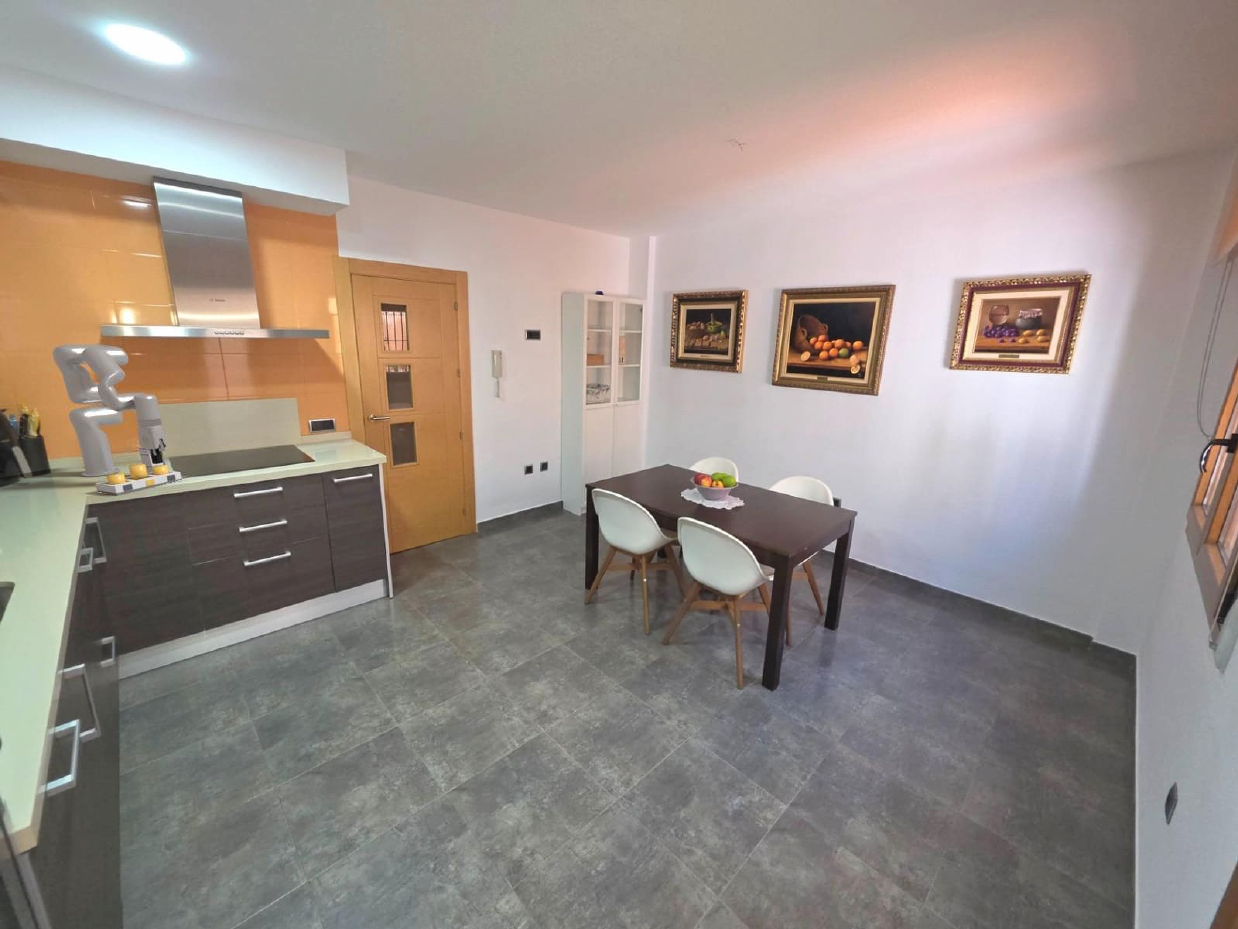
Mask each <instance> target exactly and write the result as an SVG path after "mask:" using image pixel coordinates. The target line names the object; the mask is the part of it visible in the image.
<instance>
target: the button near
mask: <svg viewBox="0 0 1238 929" xmlns="http://www.w3.org/2000/svg"><path fill="white" fill-rule="evenodd" d="M106 479H107V481H108V484H109V485H116V484H121V483H125V482H126V480H125V474H124V473H122V472H121V473H120V472H118V473H114V474H110V475H106Z"/></svg>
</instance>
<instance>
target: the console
mask: <svg viewBox="0 0 1238 929" xmlns="http://www.w3.org/2000/svg"><path fill="white" fill-rule="evenodd" d="M168 472H169V473H168V474H163V475H158V476H157V475H153V472H149V473H147V475H148V478H144V479H140V480H132V479H131V475H130V476H126V477H125V480H126V482H125V483H121V484H116V485H109V484H108V480H107V481H101V482H97V483H95V488H96V491H98V492H102V493H101V494H103V493H106V494H105V495H110V496H111V495H112V496H115V497H116V496H121V495H126V494H130V493H135V492H139V491H143V490H147V489H151V488H156V486H157V487H161V486H164V485H163V484H165V485H167V484H166V483H170V484H172V482H174V483H176V482H175V481H178V480H182V481H183V478H182V474H181V472H180V471H174V470H168ZM178 482H179V481H178ZM160 485H161V486H160ZM98 492H97V493H98Z"/></svg>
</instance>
